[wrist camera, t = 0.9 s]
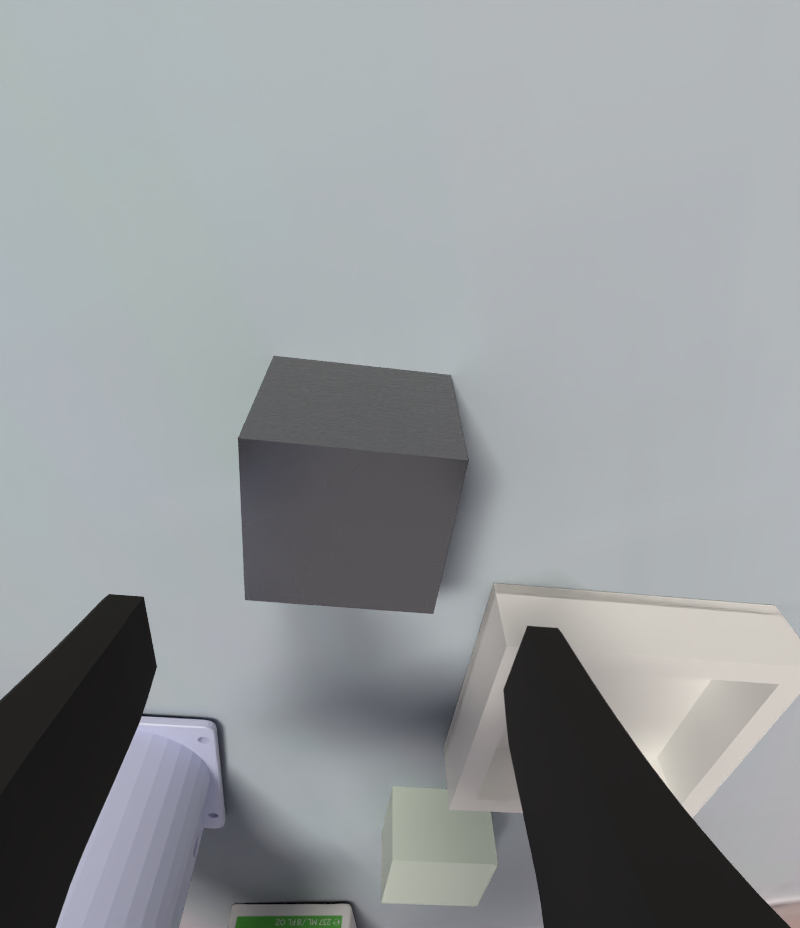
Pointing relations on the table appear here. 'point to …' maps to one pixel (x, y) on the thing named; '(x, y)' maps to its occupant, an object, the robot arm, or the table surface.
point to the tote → (631, 684)
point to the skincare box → (291, 916)
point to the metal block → (349, 485)
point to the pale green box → (435, 850)
